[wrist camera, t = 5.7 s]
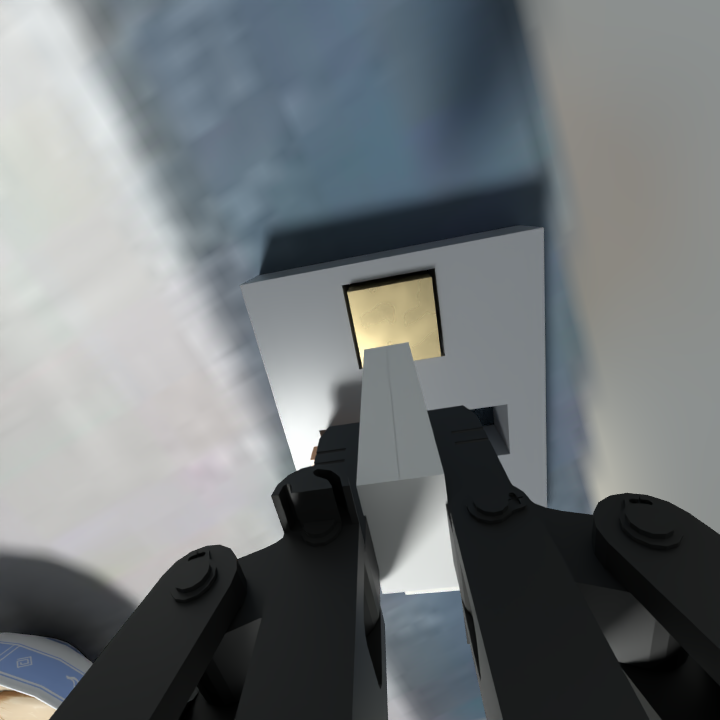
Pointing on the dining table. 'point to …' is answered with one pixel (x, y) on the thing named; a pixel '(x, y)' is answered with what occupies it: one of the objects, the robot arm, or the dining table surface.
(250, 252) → the dining table surface
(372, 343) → the brass button
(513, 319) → the panel
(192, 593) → the robot arm
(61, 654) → the ramen bowl
